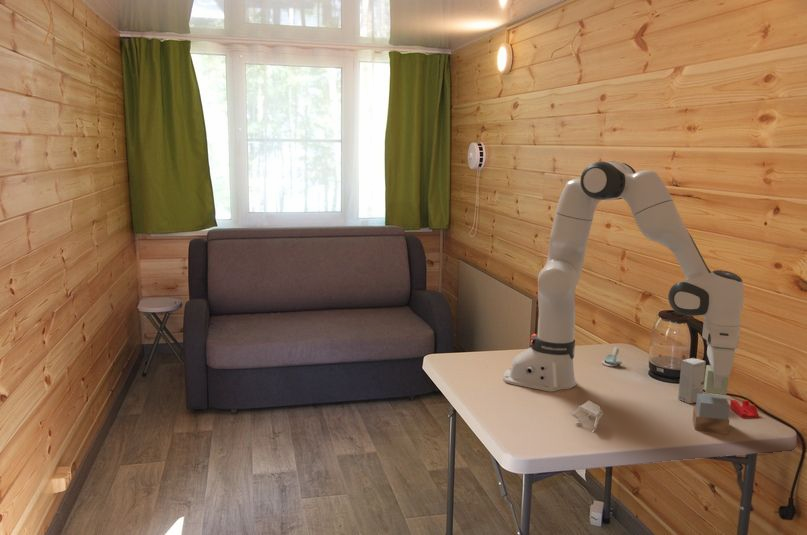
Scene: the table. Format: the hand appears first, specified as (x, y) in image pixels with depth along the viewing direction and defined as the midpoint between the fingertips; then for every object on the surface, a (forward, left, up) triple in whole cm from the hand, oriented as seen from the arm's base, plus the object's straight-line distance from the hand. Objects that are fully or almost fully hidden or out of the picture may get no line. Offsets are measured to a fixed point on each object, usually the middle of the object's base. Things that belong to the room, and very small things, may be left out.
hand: (715, 383), depth 181 cm
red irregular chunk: (+10, +13, -12) cm, 20 cm away
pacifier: (-27, +43, -12) cm, 53 cm away
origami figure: (-31, -12, -12) cm, 35 cm away
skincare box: (-4, +18, -12) cm, 22 cm away
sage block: (0, 0, -2) cm, 2 cm away
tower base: (0, -1, -12) cm, 12 cm away
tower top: (0, -1, -8) cm, 8 cm away
